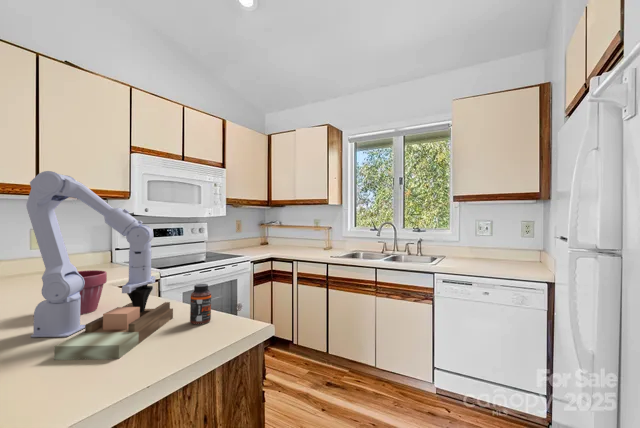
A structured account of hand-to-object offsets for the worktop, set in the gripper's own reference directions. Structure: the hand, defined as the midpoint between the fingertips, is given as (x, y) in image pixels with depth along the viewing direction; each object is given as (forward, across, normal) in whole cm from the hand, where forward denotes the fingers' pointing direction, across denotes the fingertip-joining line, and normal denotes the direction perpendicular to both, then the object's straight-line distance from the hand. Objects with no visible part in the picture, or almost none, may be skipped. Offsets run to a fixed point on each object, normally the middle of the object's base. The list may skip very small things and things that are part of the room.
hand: (139, 312), depth 89 cm
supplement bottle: (+4, +2, -17) cm, 18 cm away
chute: (+4, -8, 0) cm, 9 cm away
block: (+1, -9, 0) cm, 9 cm away
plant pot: (+4, +14, +27) cm, 31 cm away
